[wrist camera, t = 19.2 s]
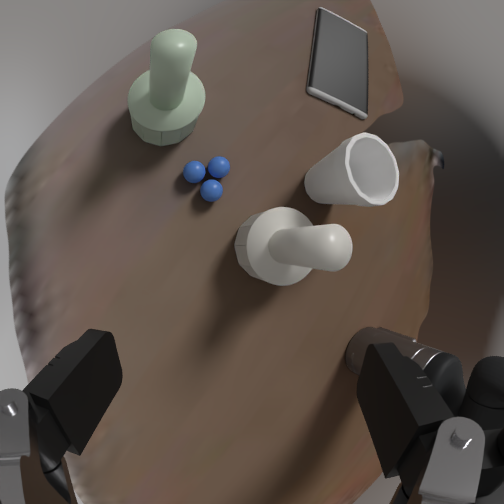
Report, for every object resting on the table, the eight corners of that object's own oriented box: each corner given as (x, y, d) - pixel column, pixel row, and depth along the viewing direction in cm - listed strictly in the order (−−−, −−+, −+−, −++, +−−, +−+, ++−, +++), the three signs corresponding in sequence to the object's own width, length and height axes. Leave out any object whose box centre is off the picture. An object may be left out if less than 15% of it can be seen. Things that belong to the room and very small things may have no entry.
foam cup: (310, 222, 44) (364, 216, 32) (285, 168, 43) (332, 144, 31) (352, 199, 47) (407, 189, 35) (329, 150, 45) (380, 126, 33)
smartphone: (303, 94, 45) (308, 90, 43) (315, 9, 45) (319, 5, 44) (362, 121, 49) (368, 119, 47) (364, 34, 49) (368, 31, 48)
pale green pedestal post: (192, 82, 38) (215, 9, 22) (204, 139, 39) (235, 79, 23) (127, 93, 35) (119, 19, 19) (135, 153, 36) (124, 95, 20)
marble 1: (201, 162, 39) (204, 156, 36) (205, 182, 39) (209, 177, 36) (180, 166, 38) (182, 160, 35) (184, 187, 38) (186, 182, 35)
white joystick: (289, 205, 43) (362, 187, 27) (303, 269, 44) (379, 282, 28) (226, 219, 40) (274, 204, 24) (243, 288, 41) (298, 316, 25)
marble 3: (217, 180, 40) (222, 175, 37) (222, 200, 40) (227, 197, 37) (196, 184, 39) (199, 179, 36) (201, 205, 39) (204, 202, 36)
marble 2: (224, 158, 40) (229, 152, 37) (229, 177, 40) (234, 173, 37) (204, 161, 39) (207, 155, 36) (208, 181, 39) (212, 177, 36)
